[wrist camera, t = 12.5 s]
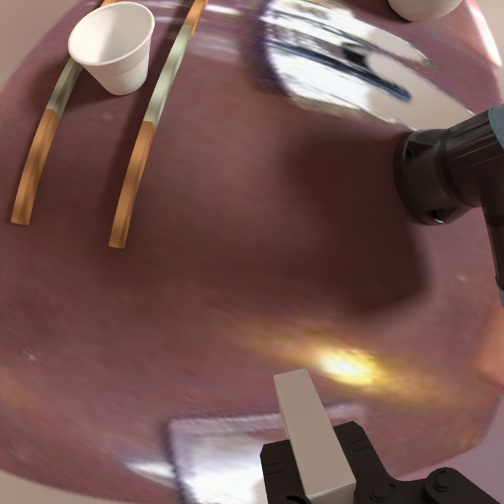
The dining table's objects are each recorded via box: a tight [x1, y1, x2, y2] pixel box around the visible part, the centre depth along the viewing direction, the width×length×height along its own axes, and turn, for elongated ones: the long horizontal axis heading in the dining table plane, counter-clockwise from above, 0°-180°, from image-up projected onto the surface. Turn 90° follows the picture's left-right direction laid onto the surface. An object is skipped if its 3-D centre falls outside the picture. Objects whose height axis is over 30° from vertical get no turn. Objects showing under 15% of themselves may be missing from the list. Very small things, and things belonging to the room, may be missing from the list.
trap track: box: [11, 0, 209, 249], centre depth 34 cm, size 44×15×3 cm, turn 168°
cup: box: [68, 2, 155, 95], centre depth 30 cm, size 10×10×11 cm
